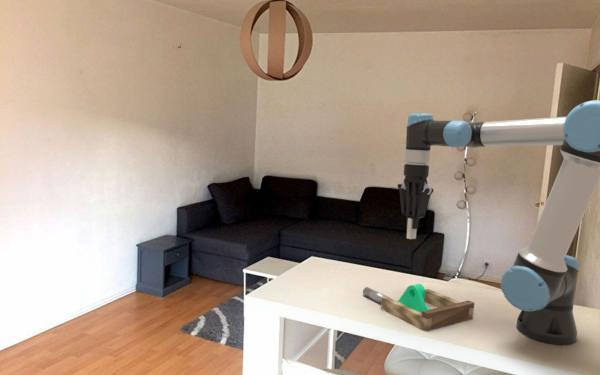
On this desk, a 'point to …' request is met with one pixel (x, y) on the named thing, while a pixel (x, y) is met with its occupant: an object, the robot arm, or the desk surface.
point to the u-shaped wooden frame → (431, 311)
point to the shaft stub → (373, 294)
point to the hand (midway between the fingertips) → (411, 238)
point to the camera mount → (414, 298)
